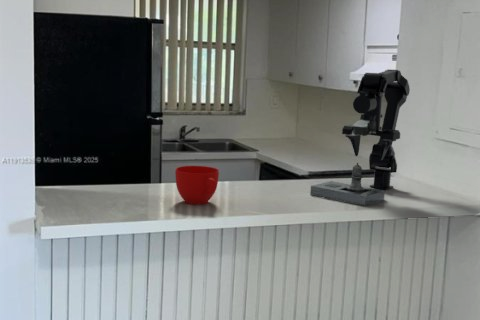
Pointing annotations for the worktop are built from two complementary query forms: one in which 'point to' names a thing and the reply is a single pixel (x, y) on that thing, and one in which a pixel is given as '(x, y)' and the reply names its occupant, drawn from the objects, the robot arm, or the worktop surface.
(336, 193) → the grey flat block
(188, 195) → the ceramic cup
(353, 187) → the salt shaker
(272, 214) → the worktop surface
